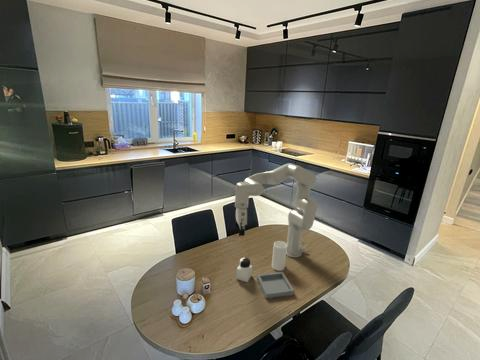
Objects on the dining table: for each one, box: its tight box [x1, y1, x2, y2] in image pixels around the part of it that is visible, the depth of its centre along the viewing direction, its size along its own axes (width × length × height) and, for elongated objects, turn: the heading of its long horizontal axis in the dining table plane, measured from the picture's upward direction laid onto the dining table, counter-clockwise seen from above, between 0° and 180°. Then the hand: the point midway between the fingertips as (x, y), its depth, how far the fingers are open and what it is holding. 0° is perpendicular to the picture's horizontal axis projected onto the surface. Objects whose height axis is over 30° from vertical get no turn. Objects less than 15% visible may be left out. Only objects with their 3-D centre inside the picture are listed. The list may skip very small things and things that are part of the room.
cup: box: [271, 240, 287, 272], centre depth 160 cm, size 8×8×16 cm
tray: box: [256, 271, 295, 300], centre depth 144 cm, size 16×16×3 cm
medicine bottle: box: [235, 257, 253, 283], centre depth 149 cm, size 7×7×12 cm
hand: (239, 231), depth 149 cm, fingers open, 9 cm apart
